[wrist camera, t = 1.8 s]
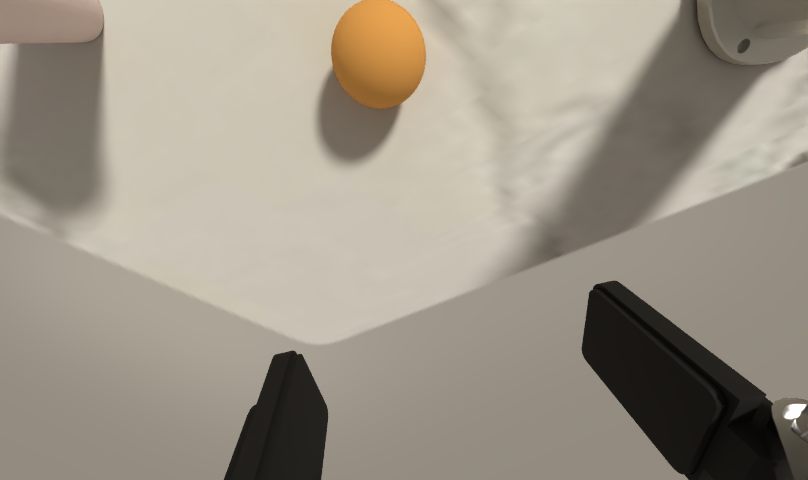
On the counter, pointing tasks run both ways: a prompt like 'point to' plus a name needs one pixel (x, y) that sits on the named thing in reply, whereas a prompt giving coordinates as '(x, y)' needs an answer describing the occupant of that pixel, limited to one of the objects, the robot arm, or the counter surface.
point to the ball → (378, 53)
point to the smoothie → (50, 21)
